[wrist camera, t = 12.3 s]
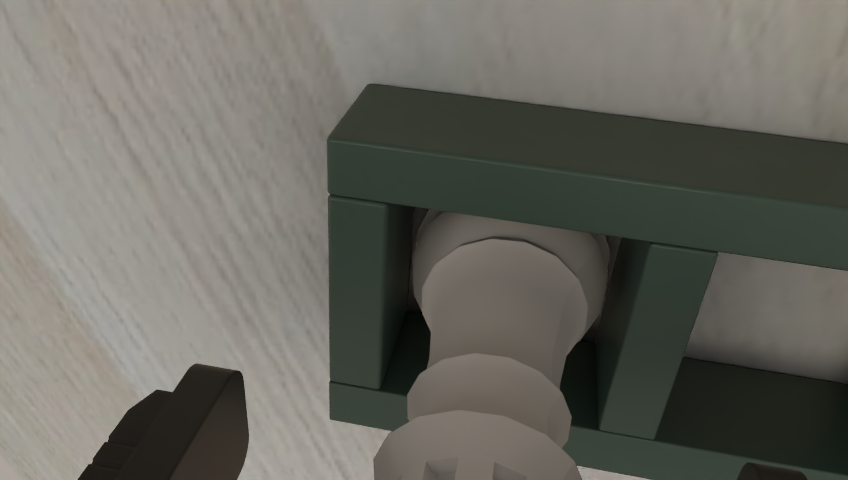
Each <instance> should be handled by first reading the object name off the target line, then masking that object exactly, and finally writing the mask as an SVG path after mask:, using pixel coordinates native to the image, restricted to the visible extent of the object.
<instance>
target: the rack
mask: <svg viewBox="0 0 848 480" xmlns="http://www.w3.org/2000/svg"><path fill="white" fill-rule="evenodd" d="M327 167H328V193H329V194H330V195H329V197H328V239H329V340H330V379H331V380H330V382H329V400H330V419H331V420H336V421H341V422H347V423H352V424H357V425H363V426H368V427H373V428H379V429H384V430H389V431H395V430H396V429H398V428H400V427H401V426H403V425H405V424H406V423H408V422H409V420H408V412H407V394H408V393H409V391H410V389H411V388H412V386H413V384H414V383H415V381H416V379H417V377H418V376H419V374H420V373H422V372H423V371H425V370H426V369H427V366H428V362H429V356H430V340H431V331H430V329H429V327H428V325H427V323H426V321H425V319H424V317H423V315H422V314H416V313H410V312H407V301H408V285H409V270H410V254H411V239H412V223H413V208H414V207H418V208H425V209H432V210H439V211H446V212H452V213H459V214H466V215H473V216H480V217H486V218H493V219H500V220H507V221H513V222H520V223H527V224H534V225H541V226H547V227H554V228H561V229H568V230H574V231H581V232H588V233H595V234H602V235H608V236H615V237H622V239H621V243H620V247H619V251H618V255H617V259H616V263H615V266H614V270H613V274H612V278H611V282H610V286H609V290H608V294H607V298H606V302H605V306H604V310H603V314H602V318H601V322H600V326H599V330H598V334H597V338H596V341H595V343H591V342H585V341H579V342H577V343H576V344H575V346H574V347H573V348H572V350H571V351H570V352H569V354H568V355H567V356H566V360H565V364H564V369H563V373H562V377H561V382H560V391H561V392H562V394H563V396H564V399H565V401H566V404H567V406H568V409H569V411H570V414H571V417H572V418H571V424H570V431H569V437H568V441H567V442H566V443H565V445H564V446H563V447H562V449H563V450H564V451H565V452H566V453H567V454H568V455H569V456H570V457H571V458H572V459H573V460H574V461H575V463H576V465H577V466H582V467H587V468H593V469H598V470H603V471H609V472H614V473H619V474H625V475H630V476H636V477H641V478H646V479H652V480H737V478H738V476H739V473H740V471H741V469H742V467H743V466H744V465H745V464H746V463H748V462H751V463H756V464H762V465H768V466H773V467H779V468H785V469H790V470H796V471H801V472H802V473H803V474H804V475H805V476H806V478H807V479H808V480H848V385H844V384H838V383H832V382H826V381H820V380H814V379H808V378H802V377H796V376H790V375H784V374H778V373H772V372H766V371H760V370H754V369H748V368H742V367H736V366H730V365H724V364H718V363H712V362H706V361H700V360H694V359H688V358H683V355H684V352H685V349H686V346H687V344H688V341H689V338H690V335H691V332H692V329H693V326H694V323H695V320H696V318H697V315H698V312H699V309H700V306H701V303H702V300H703V297H704V294H705V291H706V289H707V286H708V283H709V280H710V277H711V274H712V271H713V268H714V265H715V262H716V260H717V257H718V252H724V253H730V254H737V255H744V256H751V257H758V258H764V259H771V260H778V261H785V262H791V263H798V264H805V265H812V266H819V267H825V268H832V269H839V270H846V271H848V145H846V144H838V143H830V142H822V141H814V140H806V139H799V138H791V137H783V136H775V135H767V134H759V133H751V132H743V131H736V130H728V129H720V128H712V127H704V126H696V125H688V124H681V123H673V122H665V121H657V120H649V119H641V118H633V117H626V116H618V115H610V114H602V113H594V112H586V111H578V110H571V109H563V108H555V107H547V106H539V105H531V104H523V103H515V102H508V101H500V100H492V99H484V98H476V97H468V96H460V95H453V94H445V93H437V92H429V91H421V90H413V89H405V88H398V87H390V86H382V85H374V84H368V85H367V86H366V87H365V89H364V90H363V91H362V93H361V94H360V95H359V97H358V98H357V99H356V101H355V102H354V103H353V105H352V106H351V107H350V109H349V110H348V111H347V113H346V114H345V115H344V117H343V118H342V119H341V121H340V122H339V123H338V125H337V126H336V127H335V129H334V130H333V131H332V133H331V134H330V135H329V137H328V139H327Z"/></svg>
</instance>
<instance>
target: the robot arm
mask: <svg viewBox="0 0 848 480" xmlns="http://www.w3.org/2000/svg"><path fill="white" fill-rule="evenodd" d="M248 442H249V430H248V420H247V410H246V400H245V390H244V380H243V376H242V373H241V372H240V371H236V370H231V369H225V368H219V367H214V366H208V365H202V364H194V365H192V366H191V367H190V368H189V369H188V371H187V372H186V374H185V375H184V376H183V378H182V379H181V381H180V382H179V384H178V385H177V387H176V388H175V390H174V391H173V392H167V391H162V390H156V391H154V392H153V393H151V394H150V395H149V396H147V397H146V398H144V399H143V400H142V401H140V402H139V403H138V404H136V405H135V406H133V407H132V408H131V409H129V410H128V411H127V413H126V414H125V415H124V417H123V418H122V419H121V421H120V422H119V424H118V425H117V426H116V428H115V429H114V430H113V432H112V433H111V434H110V436H109V440H108V442H105V443H104V444H103V445H102V447H101V448H100V450H99V451H98V452H97V454H96V455H95V456H94V458H93V462H92V464H89V465H88V466H87V467H86V469H85V470H84V471H83V473H82V474H81V476H80V477H79V478H78V480H237V478H238V476H239V474H240V472H241V470H242V467H243V465H244V462H245V458H246V454H247V449H248ZM737 480H808V479H807V478H806V476H805V475H804V474H803V473H802V472H801V471H796V470H790V469H785V468H779V467H773V466H768V465H762V464H756V463H751V462H748V463H746V464H745V465H744V466H743V467H742V469H741V471H740V473H739V476H738V478H737Z"/></svg>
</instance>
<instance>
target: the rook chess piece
mask: <svg viewBox="0 0 848 480" xmlns="http://www.w3.org/2000/svg"><path fill="white" fill-rule="evenodd" d="M609 257H610V250H609V247H608V243H607V240H606V237H605V235H602V234H595V233H588V232H581V231H574V230H568V229H561V228H554V227H547V226H541V225H534V224H527V223H520V222H513V221H507V220H500V219H493V218H486V217H480V216H473V215H466V214H459V213H452V212H446V211H439V210H432V209H429V210H428V212H427V214H426V216H425V218H424V220H423V222H422V224H421V226H420V228H419V230H418V232H417V246H416V248H415V250H414V252H413V292H414V296H415V298H416V300H417V302H418V304H419V307H420V309H421V311H422V314H423V317H424V319H425V321H426V323H427V325H428V327H429V329H430V331H431V340H430V356H429V362H428V366H427V369H426V370H425V371H423V372H422V373H420V374H419V376H418V377H417V379H416V381H415V383H414V384H413V386H412V388H411V389H410V391H409V393H408V394H407V412H408V420H409V422H408V423H406V424H405V425H403V426H401V427H400V428H398V429H396V430H395V431H393V432H391V433H390V434H388V436H387V437H386V439H385V441H384V442H383V444H382V446H381V447H380V449H379V451H378V453H377V454H376V456H375V458H374V479H375V480H582V478H581V476H580V473H579V471H578V468H577V466H576V463H575V461H574V460H573V459H572V458H571V457H570V456H569V455H568V454H567V453H566V452H565V451H564V450H563V449H562V447H563V446H564V445H565V443H566V442H567V441H568V437H569V431H570V424H571V418H572V417H571V414H570V411H569V409H568V406H567V404H566V401H565V399H564V396H563V394H562V392H561V391H560V382H561V377H562V373H563V369H564V364H565V360H566V356H567V355H568V354H569V352H570V351H571V350H572V348H573V347H574V346H575V344H576V343H577V342H579V341H580V340H581V339H582V337H583V336H584V335H585V333H586V332H587V331H588V329H589V328H590V327H591V325H592V324H593V323H594V321H595V320H596V319H597V317H598V316H599V314H600V312H601V310H602V307H603V303H604V298H605V292H606V286H607V280H608V275H609V274H608V271H607V269H608V263H609Z"/></svg>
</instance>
